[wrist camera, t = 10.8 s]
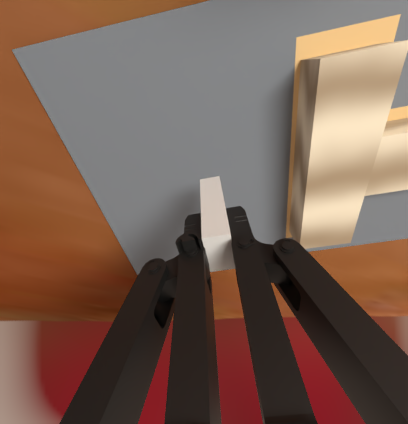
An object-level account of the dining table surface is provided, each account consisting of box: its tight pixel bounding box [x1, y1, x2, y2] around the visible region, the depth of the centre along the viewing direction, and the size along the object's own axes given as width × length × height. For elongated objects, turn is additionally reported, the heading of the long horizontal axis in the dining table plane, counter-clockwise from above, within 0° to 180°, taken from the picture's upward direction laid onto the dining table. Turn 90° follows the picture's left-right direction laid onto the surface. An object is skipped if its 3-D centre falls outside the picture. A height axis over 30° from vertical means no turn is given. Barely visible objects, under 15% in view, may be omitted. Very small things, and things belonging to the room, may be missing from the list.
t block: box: [289, 40, 408, 249], centre depth 18 cm, size 16×15×3 cm
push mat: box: [12, 0, 408, 274], centre depth 20 cm, size 24×36×1 cm, turn 100°
